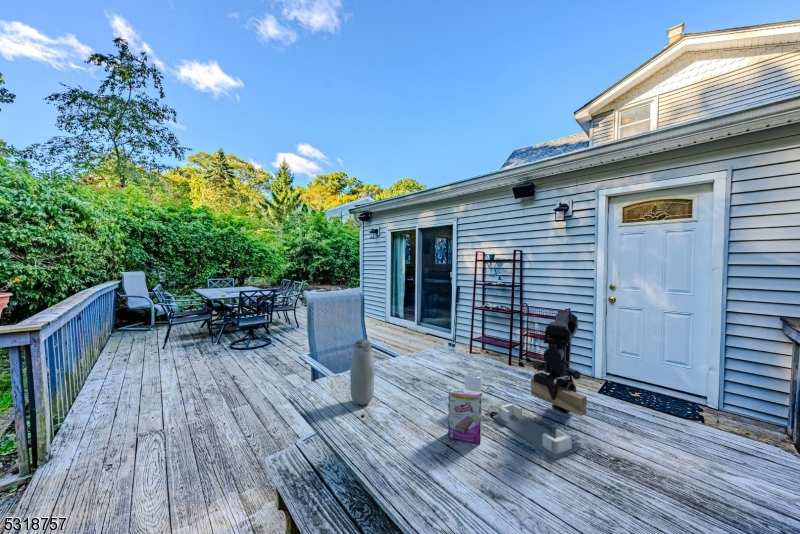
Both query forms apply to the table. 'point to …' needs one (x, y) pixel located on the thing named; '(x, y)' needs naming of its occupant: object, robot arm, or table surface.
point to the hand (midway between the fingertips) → (556, 398)
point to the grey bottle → (362, 373)
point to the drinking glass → (473, 381)
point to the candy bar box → (465, 415)
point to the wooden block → (561, 398)
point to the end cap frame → (535, 432)
